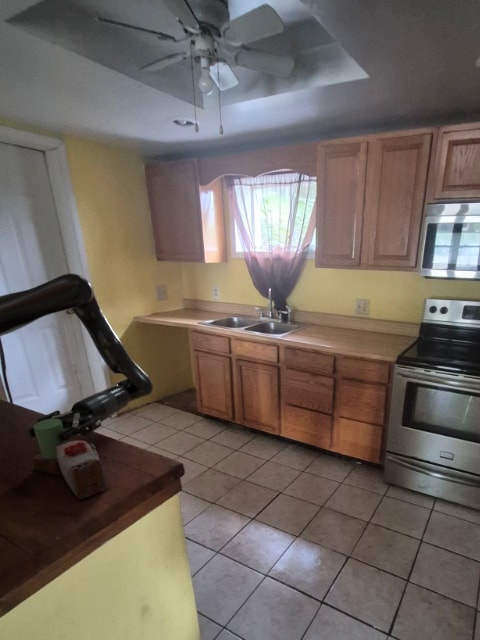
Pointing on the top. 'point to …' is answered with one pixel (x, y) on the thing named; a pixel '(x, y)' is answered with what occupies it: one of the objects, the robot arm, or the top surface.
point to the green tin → (49, 437)
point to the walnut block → (47, 465)
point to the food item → (81, 468)
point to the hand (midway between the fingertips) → (44, 436)
